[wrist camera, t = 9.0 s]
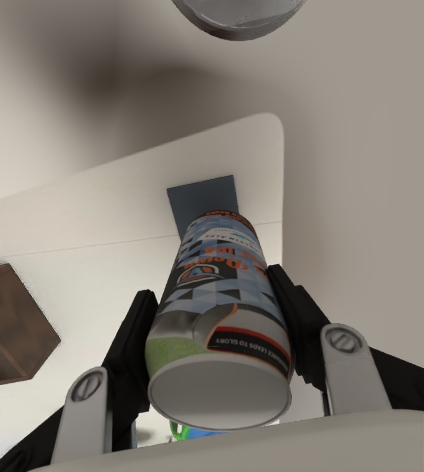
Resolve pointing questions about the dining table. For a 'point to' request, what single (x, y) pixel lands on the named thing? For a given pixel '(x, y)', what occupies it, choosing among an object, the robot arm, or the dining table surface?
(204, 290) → the beverage can
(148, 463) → the robot arm
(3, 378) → the open wooden box
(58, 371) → the dining table surface
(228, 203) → the mat
